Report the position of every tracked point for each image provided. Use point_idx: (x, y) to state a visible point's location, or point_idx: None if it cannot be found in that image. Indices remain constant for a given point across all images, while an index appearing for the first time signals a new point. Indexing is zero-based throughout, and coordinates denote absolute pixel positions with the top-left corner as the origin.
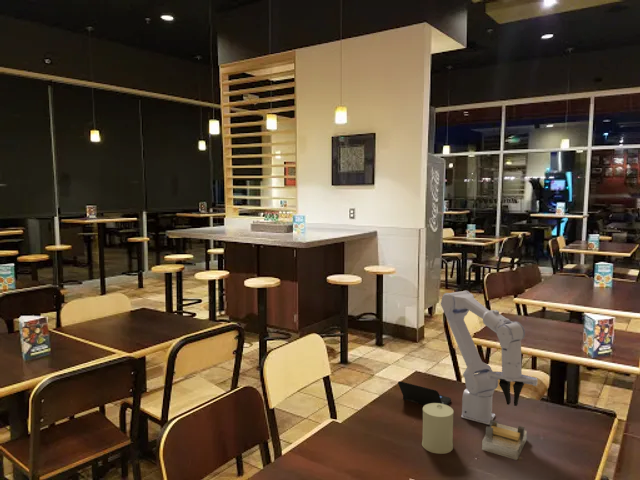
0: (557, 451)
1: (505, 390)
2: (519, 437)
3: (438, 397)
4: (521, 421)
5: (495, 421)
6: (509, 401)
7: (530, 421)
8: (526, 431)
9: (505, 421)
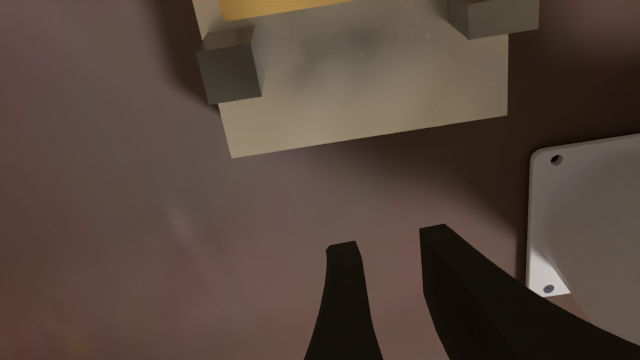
0: (10, 123)
1: (554, 347)
2: None
3: None
4: None
5: (486, 24)
6: (431, 272)
7: None
8: (229, 147)
9: None
